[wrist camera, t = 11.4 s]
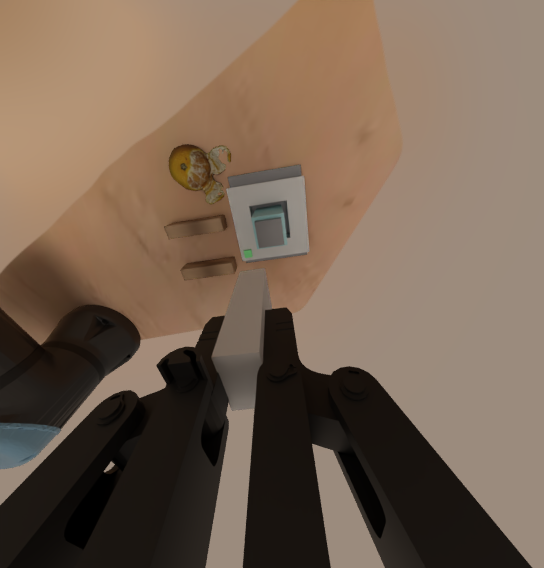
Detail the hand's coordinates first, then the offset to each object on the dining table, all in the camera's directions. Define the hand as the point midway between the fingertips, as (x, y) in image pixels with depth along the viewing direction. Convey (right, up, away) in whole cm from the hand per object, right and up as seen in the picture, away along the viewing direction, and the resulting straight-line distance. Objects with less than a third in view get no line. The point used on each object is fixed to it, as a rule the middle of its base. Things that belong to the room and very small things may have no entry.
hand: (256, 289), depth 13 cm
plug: (+1, +11, +21) cm, 24 cm away
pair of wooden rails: (-11, +7, +24) cm, 27 cm away
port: (+1, +11, +22) cm, 24 cm away
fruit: (-9, +17, +19) cm, 27 cm away
